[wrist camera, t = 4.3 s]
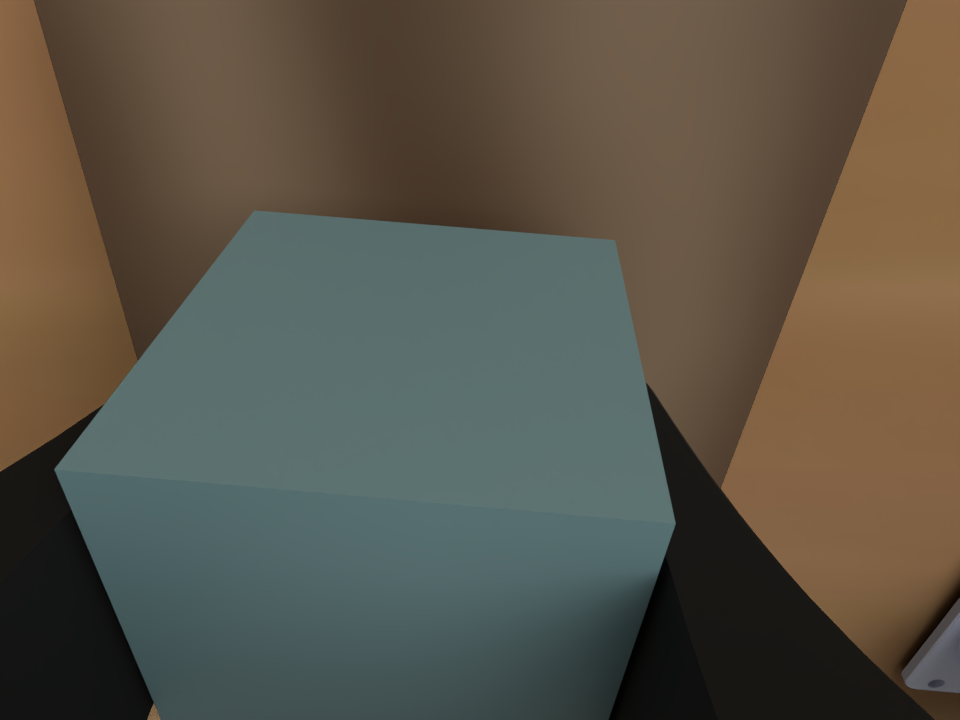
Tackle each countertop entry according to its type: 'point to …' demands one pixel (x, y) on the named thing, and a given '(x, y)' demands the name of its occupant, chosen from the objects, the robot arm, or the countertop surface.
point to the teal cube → (382, 479)
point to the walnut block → (488, 146)
